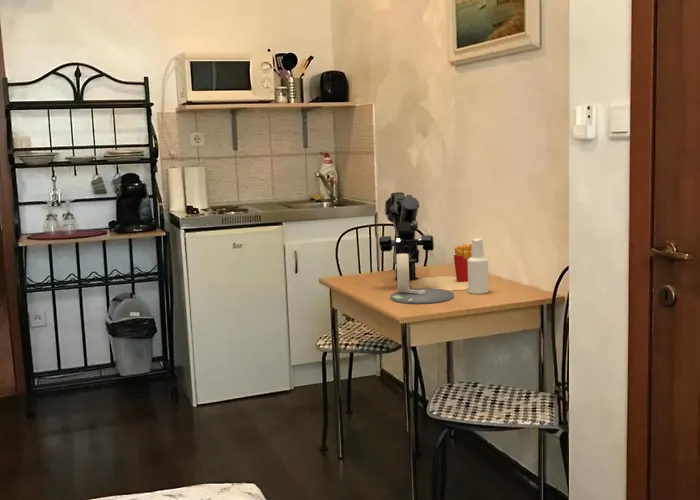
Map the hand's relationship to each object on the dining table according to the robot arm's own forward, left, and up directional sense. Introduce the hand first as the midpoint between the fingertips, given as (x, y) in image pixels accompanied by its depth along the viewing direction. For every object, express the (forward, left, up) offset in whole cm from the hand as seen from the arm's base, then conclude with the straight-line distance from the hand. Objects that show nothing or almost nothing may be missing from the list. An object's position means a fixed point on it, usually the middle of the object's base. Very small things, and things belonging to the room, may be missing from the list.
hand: (405, 263), depth 268 cm
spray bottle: (-17, +18, -10) cm, 27 cm away
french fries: (-27, -1, -10) cm, 29 cm away
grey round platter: (+2, +12, -10) cm, 15 cm away
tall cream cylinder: (+4, +7, -9) cm, 11 cm away
